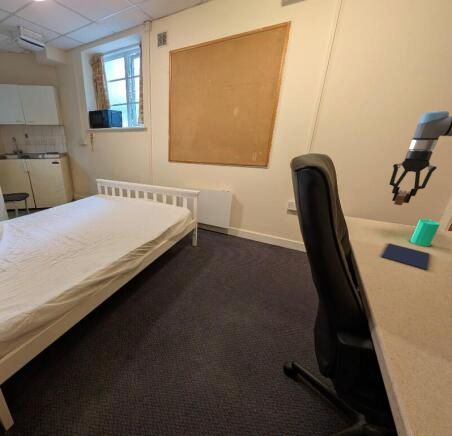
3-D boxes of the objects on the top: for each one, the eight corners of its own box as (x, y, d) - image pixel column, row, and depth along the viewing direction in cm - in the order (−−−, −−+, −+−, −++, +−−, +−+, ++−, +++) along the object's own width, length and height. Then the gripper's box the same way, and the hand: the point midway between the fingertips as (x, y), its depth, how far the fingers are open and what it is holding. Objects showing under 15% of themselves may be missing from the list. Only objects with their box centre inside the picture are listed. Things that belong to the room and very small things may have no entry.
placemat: (388, 244, 100) (389, 243, 99) (428, 254, 91) (429, 253, 91) (381, 257, 89) (381, 256, 89) (426, 270, 80) (426, 269, 80)
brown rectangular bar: (403, 205, 99) (407, 196, 98) (391, 203, 102) (395, 194, 101) (408, 200, 107) (411, 191, 106) (396, 198, 110) (399, 190, 109)
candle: (411, 239, 104) (421, 215, 100) (430, 243, 100) (442, 219, 95) (409, 242, 101) (420, 218, 96) (429, 247, 96) (441, 222, 92)
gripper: (451, 150, 92) (427, 204, 101) (394, 149, 105) (378, 196, 113) (451, 151, 88) (426, 207, 96) (392, 149, 101) (374, 199, 109)
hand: (400, 201), depth 105 cm, fingers closed on brown rectangular bar, 4 cm apart
